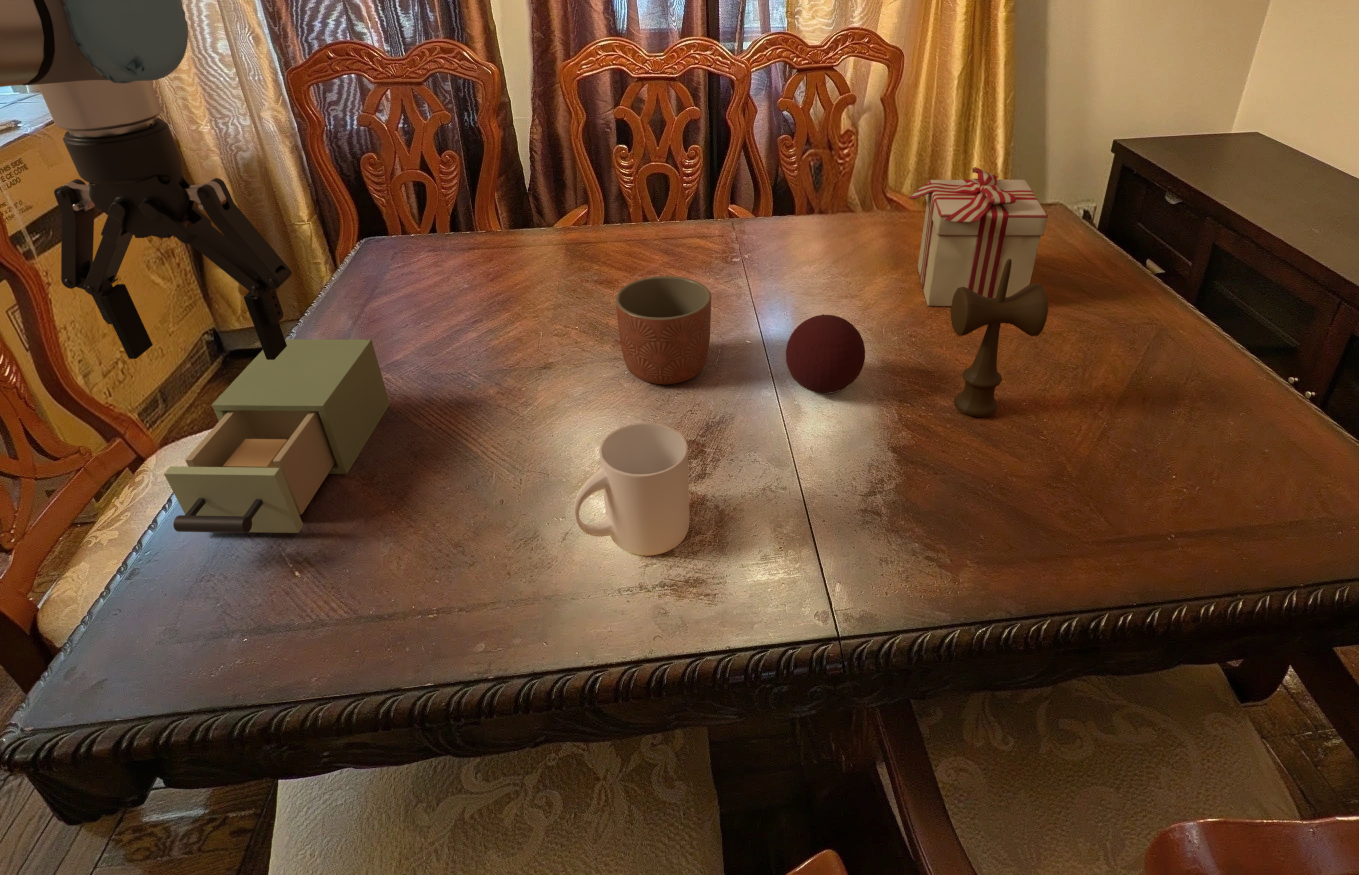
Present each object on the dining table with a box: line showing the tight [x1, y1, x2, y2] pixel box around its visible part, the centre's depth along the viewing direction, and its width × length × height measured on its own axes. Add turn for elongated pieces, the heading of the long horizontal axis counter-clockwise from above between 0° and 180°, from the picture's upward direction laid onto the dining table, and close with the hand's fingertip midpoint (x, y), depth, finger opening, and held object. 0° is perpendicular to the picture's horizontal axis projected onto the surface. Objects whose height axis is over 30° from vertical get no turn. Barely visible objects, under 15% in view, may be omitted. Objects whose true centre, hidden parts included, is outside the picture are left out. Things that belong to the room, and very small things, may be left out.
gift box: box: [907, 166, 1049, 308], centre depth 122 cm, size 17×18×17 cm
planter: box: [614, 275, 712, 385], centre depth 106 cm, size 12×12×11 cm
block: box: [223, 439, 288, 468], centre depth 87 cm, size 5×5×5 cm
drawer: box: [163, 411, 336, 534], centre depth 85 cm, size 18×11×8 cm, turn 177°
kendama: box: [950, 259, 1049, 418], centre depth 94 cm, size 6×10×20 cm, turn 90°
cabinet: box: [211, 338, 391, 475], centre depth 96 cm, size 15×13×10 cm
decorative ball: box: [785, 314, 866, 395], centre depth 102 cm, size 10×10×10 cm
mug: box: [573, 422, 691, 556], centre depth 80 cm, size 9×12×11 cm
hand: (208, 352), depth 77 cm, fingers open, 13 cm apart
